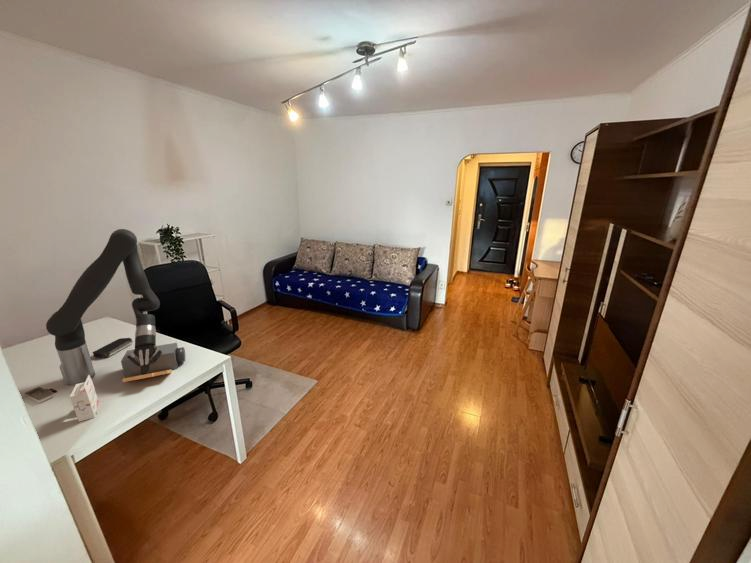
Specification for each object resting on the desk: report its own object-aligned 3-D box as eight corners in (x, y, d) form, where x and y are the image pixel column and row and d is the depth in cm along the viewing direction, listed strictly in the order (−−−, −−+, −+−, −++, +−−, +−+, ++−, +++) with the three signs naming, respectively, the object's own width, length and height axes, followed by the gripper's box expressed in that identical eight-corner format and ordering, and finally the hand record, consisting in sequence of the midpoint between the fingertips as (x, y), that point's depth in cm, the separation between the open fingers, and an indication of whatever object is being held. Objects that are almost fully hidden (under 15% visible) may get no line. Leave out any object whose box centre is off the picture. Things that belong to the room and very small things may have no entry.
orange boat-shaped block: (130, 380, 134) (120, 382, 123) (129, 377, 134) (120, 379, 124) (171, 372, 141) (165, 373, 130) (171, 369, 141) (165, 370, 130)
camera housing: (125, 380, 135) (120, 361, 131) (131, 368, 143) (127, 350, 140) (184, 369, 144) (181, 351, 141) (186, 358, 153) (183, 341, 150)
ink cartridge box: (83, 408, 117) (73, 377, 113) (99, 404, 120) (90, 373, 115) (77, 422, 111) (66, 390, 106) (95, 417, 113) (85, 385, 109)
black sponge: (107, 359, 149) (105, 353, 148) (92, 358, 150) (90, 351, 149) (135, 343, 165) (133, 337, 164) (121, 342, 166) (119, 336, 165)
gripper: (124, 336, 129) (122, 376, 123) (160, 331, 135) (160, 369, 129) (130, 341, 136) (129, 379, 129) (164, 336, 141) (165, 372, 135)
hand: (145, 374), depth 129 cm, fingers closed
